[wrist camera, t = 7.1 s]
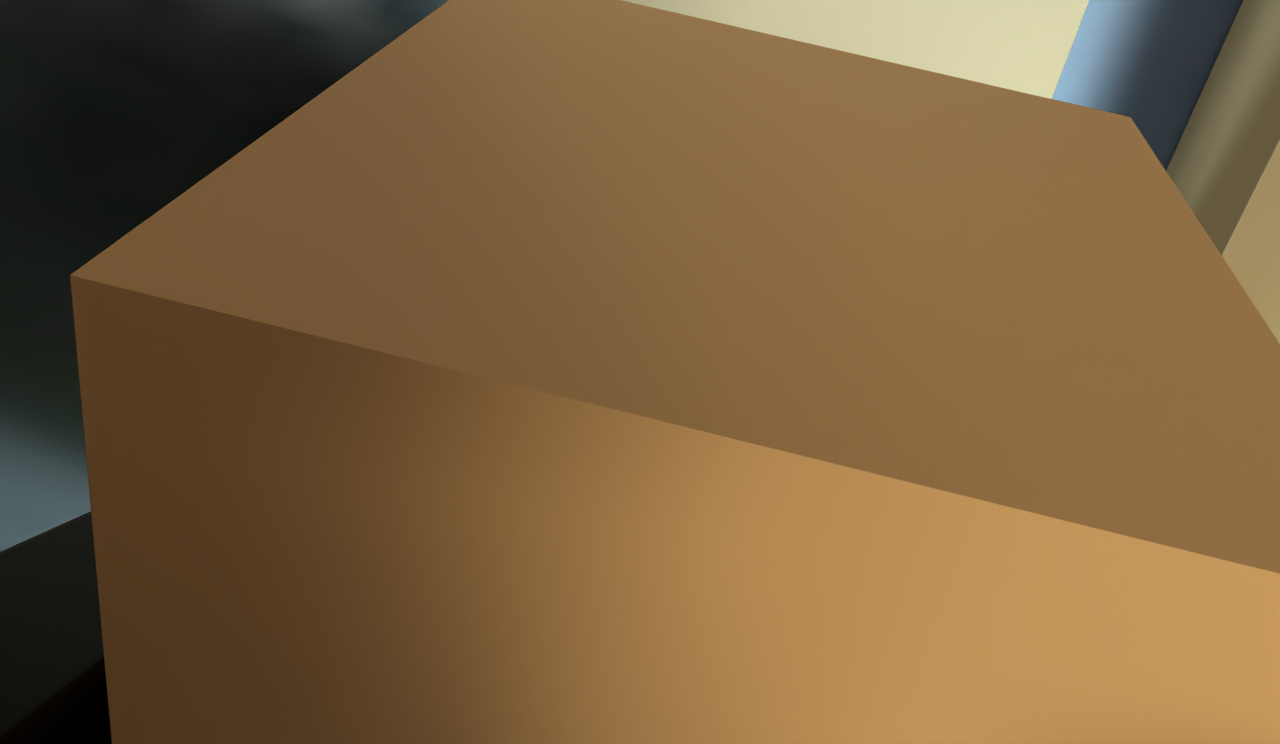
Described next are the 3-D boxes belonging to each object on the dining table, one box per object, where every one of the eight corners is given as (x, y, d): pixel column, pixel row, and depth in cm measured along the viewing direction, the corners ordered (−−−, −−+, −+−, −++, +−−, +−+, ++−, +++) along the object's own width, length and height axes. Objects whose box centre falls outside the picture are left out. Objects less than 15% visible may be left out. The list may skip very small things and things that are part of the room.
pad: (1154, -185, 15) (1158, -183, 14) (913, 447, 20) (914, 457, 20) (581, -310, 15) (576, -309, 15) (493, 344, 20) (488, 352, 20)
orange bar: (847, 785, 11) (842, 1430, 7) (414, 672, 12) (155, 1233, 7) (1129, 116, 8) (1462, 619, 4) (490, -31, 8) (70, 276, 4)
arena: (1548, -357, 13) (1715, -371, 11) (1045, 633, 21) (1071, 760, 19) (674, -538, 14) (632, -593, 11) (512, 499, 22) (465, 605, 19)
